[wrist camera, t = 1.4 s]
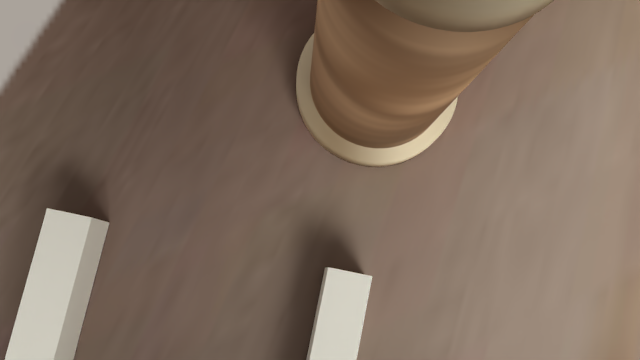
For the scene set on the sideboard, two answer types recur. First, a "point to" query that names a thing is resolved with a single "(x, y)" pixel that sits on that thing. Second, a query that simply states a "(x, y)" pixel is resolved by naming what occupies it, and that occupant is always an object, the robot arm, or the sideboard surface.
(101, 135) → the sideboard surface
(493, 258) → the sideboard surface
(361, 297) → the white u-shaped piece
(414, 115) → the bobbin
